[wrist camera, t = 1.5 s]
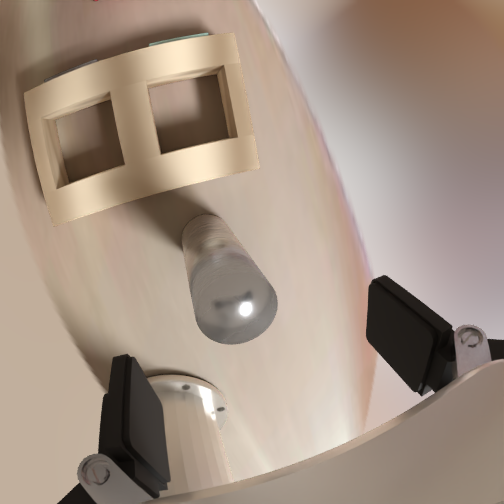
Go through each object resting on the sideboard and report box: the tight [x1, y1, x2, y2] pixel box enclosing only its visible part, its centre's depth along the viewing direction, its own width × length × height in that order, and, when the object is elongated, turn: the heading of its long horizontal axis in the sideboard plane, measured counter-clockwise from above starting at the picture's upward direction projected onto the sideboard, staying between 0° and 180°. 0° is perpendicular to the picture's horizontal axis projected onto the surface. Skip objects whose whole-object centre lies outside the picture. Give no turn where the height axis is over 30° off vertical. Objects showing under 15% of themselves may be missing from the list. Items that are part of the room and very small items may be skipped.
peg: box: [182, 214, 278, 344], centre depth 19 cm, size 4×4×11 cm
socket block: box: [24, 33, 260, 227], centre depth 18 cm, size 15×10×3 cm
